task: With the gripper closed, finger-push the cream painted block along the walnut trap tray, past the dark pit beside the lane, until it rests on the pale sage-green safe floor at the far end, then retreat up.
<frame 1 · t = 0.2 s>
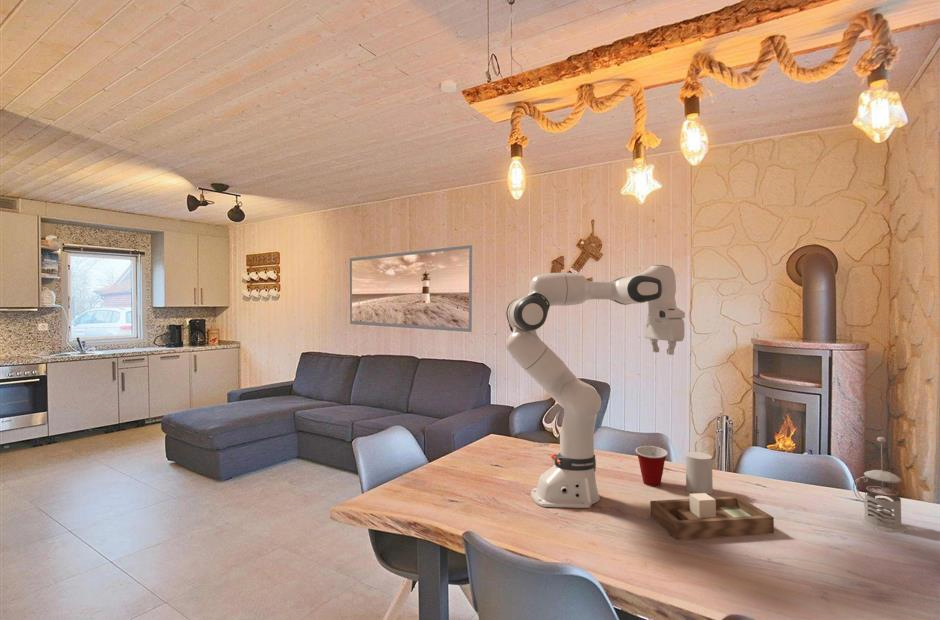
hand: (662, 353, 159), 47 cm above the table, fingers open, 8 cm apart
french press: (879, 524, 134), on the table
block: (702, 513, 137), point 2 cm above the table, touching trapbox
plastic cup: (651, 484, 167), on the table
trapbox: (709, 524, 135), on the table
beige cylinder: (699, 490, 160), on the table
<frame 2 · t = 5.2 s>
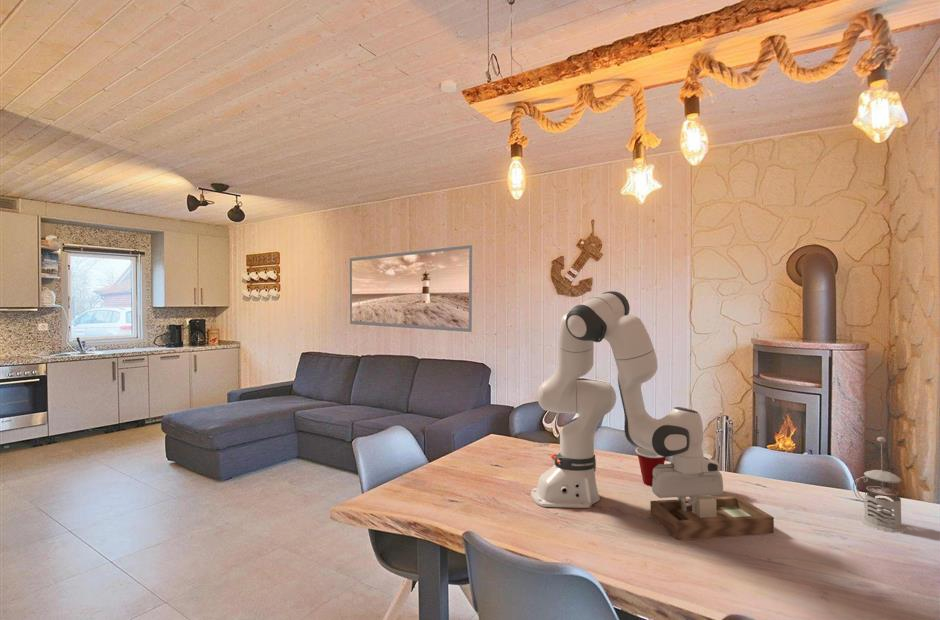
hand: (687, 510, 137), 3 cm above the table, fingers closed
block: (703, 513, 137), point 2 cm above the table, touching gripper
everything else where it was.
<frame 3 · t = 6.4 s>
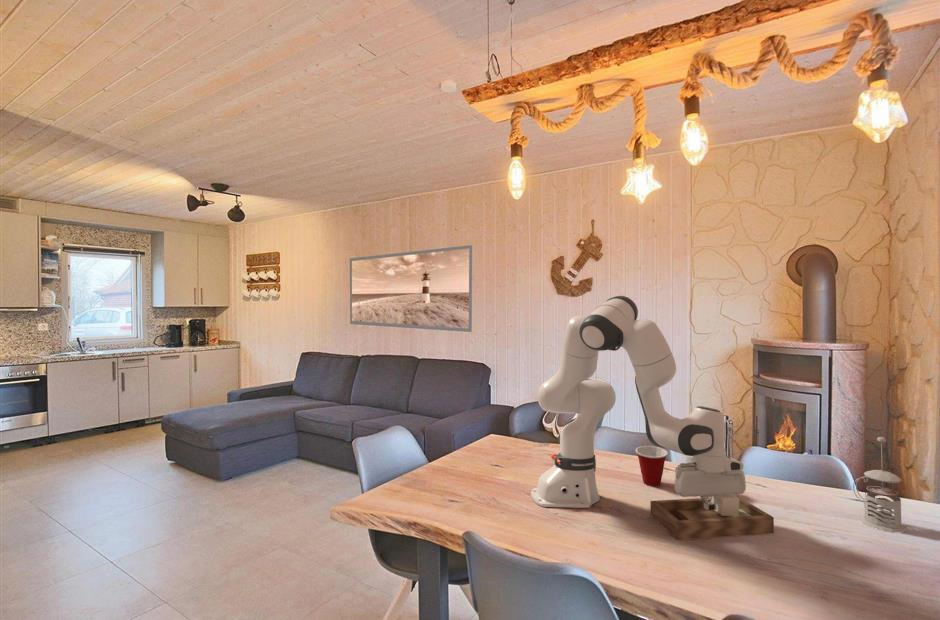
hand: (710, 509, 137), 3 cm above the table, fingers closed
block: (725, 512, 138), point 2 cm above the table, touching gripper
everything else where it was.
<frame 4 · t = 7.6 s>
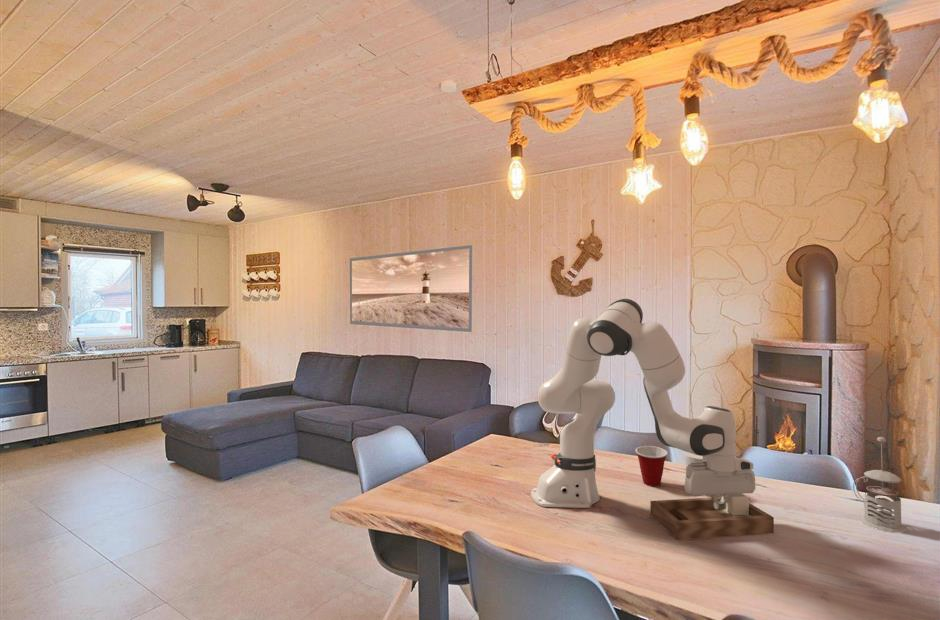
hand: (720, 508, 138), 3 cm above the table, fingers closed
block: (735, 511, 138), point 2 cm above the table, touching gripper
everything else where it was.
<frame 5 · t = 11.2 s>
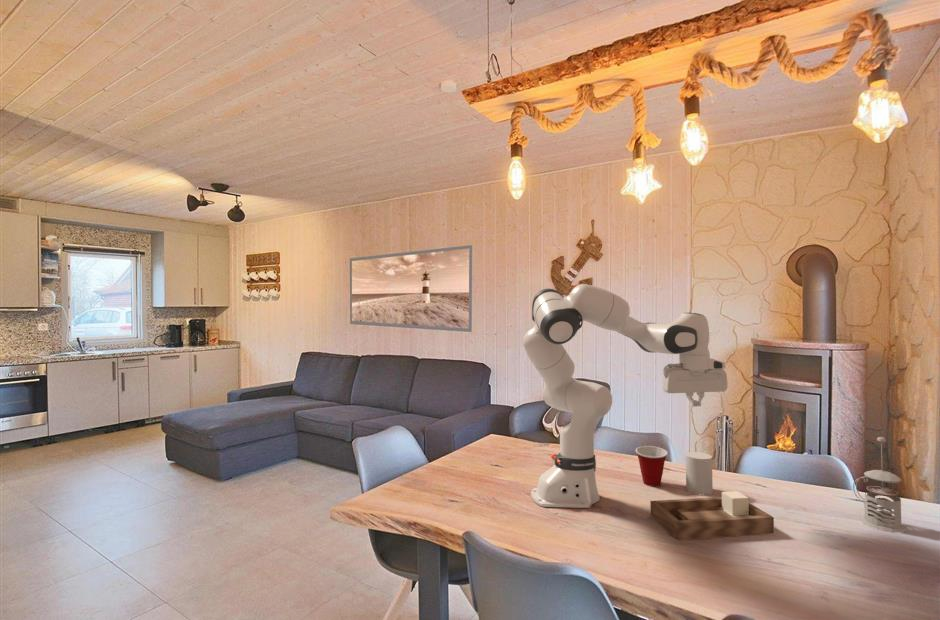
hand: (695, 406, 150), 31 cm above the table, fingers closed
block: (735, 511, 138), point 2 cm above the table, touching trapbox
everything else where it was.
at the end: block inside the target area on the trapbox (0.2 cm from its centre), point 2.0 cm above the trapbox's base; block tilted 0° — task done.
